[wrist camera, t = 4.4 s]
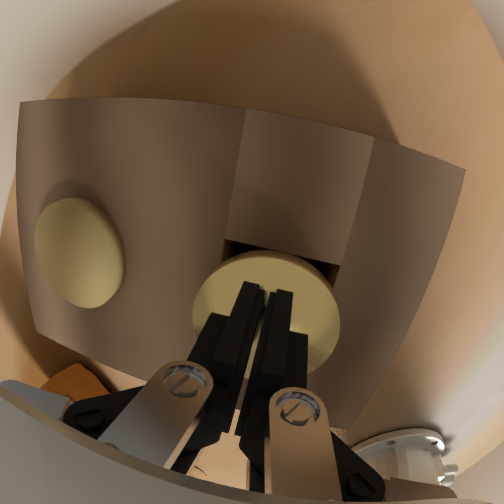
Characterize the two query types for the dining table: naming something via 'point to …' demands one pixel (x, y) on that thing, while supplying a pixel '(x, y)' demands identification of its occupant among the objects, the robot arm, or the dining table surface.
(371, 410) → the dining table surface
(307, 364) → the robot arm
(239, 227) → the walnut block
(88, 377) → the coffee package
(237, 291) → the brass peg
